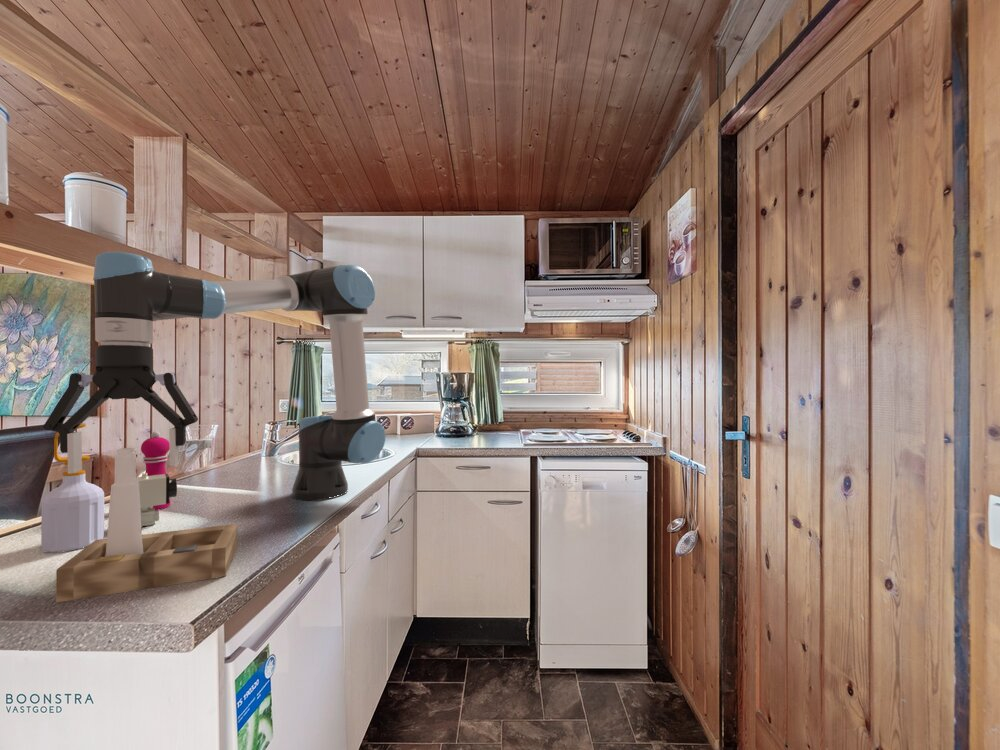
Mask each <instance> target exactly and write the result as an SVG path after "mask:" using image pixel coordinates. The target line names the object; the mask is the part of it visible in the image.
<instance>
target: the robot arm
mask: <svg viewBox="0 0 1000 750" xmlns="http://www.w3.org/2000/svg"><path fill="white" fill-rule="evenodd" d="M93 269H94V271H93V279H92V280H93V286H94V287H93V288H94V289H93V290H94V309H95V310H94V311H95V313H94V315H95V316H94V334H95V335H94V339H95V342H97V343H100V345H96V347H94V350H95V351H94V352H95V353H94V354H95V372H94V374H86V373H84V372H73V373H71V374H70V375H69V379H68V386H67V388H66V390H65V391H64V393H63V394H62V396H61V397H60V399H59V401H58V402H57V404H56V405H55V407H54V409H52V412H51V413H50V414H49V416H48V418H47V419H46V421H45V423H44V424H43V426H42V427H43V429H44V430H45V431H53V432H56V433H57V432H58V433H59V434H60V435H59V446H60V447H59V450H60V452H61V453H62V454H66V453H67V457H68V465H67V472H68V474H71V473H76V472H78V471H80V470H83V464H82V456H83V452H82V451H83V450H82V447H83V445H82V443H83V441H82V440H83V439H82V431H77V429H76V428H77V427H78V426H79V425H80V424H84V422H86V420H87V419H88V418H89V417H90V416H91V415H92V414H93V413H94V412H96V411H97V409H98V408H100V406H102V405H103V404H104V403H105V402H106V401H108V400H109V399H111V400H122V399H126V400H127V399H128V400H136V399H141V398H142V399H143V400H144V401H145V402H148V404H149V405H151V406H152V407H153V408H154V409H155V410H156V411H158V412H159V414H160V415H162V417H164V419H166V420H167V421H168V422H169V423H170V424H172V425H173V426H174V427H172V428H169V429H168V430H169V443H170V449H169V467H175V466H177V465H179V463H180V447H182V446H184V445H185V444H186V442H187V432H186V431H187V430H186V428H187V427H188V426H189V425H191V424H195V423H197V422H198V421H199V417H198V416H197V414H196V413H195V410H193V408H192V406H191V405H190V403H189V401H188V400H187V399H186V397H185V395H184V393H183V392H182V390H181V389H180V387H179V385H178V382H177V381H178V380H177V375H176V373H174V372H165V373H160V374H156V373H155V371H154V349H153V348H152V346H150V345H151V344H153V343H154V329H153V328H154V326H153V325H154V323H153V322H157V321H158V322H159V321H165V320H175V319H183V318H194V319H199V320H204V319H205V320H206V319H207V320H209V319H210V320H214V319H218V318H219V317H221V315H223V314H225V315H226V314H235V313H244V312H245V313H247V312H257V311H258V312H259V311H268V310H276V309H281V310H282V311H284V312H296V311H301V312H303V311H304V312H307V311H308V312H321V313H322V318H323V319H324V320H326V321H327V322H328V325H329V333H330V336H329V337H330V344H331V345H330V346H331V359H332V369H333V370H332V371H333V383H334V396H335V407H336V410H335V411H334V413H333V414H326V415H314V416H308V417H307V416H306V417H303V418H301V419H300V421H299V425H298V427H299V428H298V471H297V474H296V476H295V480H294V483H293V485H292V491H291V496H293V497H294V499H295V498H296V500H300V499H301V501H318V500H317V499H322V500H325V499H324V498H329V497H334V496H337V495H341V494H343V493H345V492H346V491H347V490H348V489H349V484H348V480H347V478H346V475H345V472H344V468H343V466H342V465H343V464H342V463H343V462H347V463H353V464H369V463H370V462H373V461H374V460H376V459H377V458H378V457H379V456H380V454H381V452H382V451H383V450H384V448H385V447H384V446H385V442H386V436H387V434H386V429H385V427H384V425H382V423H380V422H378V421H377V419H376V412H375V411H374V410H373V409H372V408H371V407H370V405H369V403H370V401H369V392H368V391H369V390H368V379H367V378H368V377H367V376H368V375H367V363H366V353H365V351H366V350H365V339H364V325H363V322H364V320H365V319H366V318H367V317H368V316H369V315H368V308H369V307H371V305H373V303H374V301H375V298H376V289H375V285H374V281H373V280H372V278H371V276H370V275H369V274H368V273H367V271H366V270H365V269H364V268H363V267H360V266H358V265H356V264H339V265H336V266H330V267H329V266H328V267H325V268H324V267H323V268H317V269H312V270H308V271H307V270H306V271H303V272H299V273H295V274H287V275H286V274H284V275H283V274H282V275H279V276H278V277H276V278H275V279H251V280H250V279H249V280H223V281H220V280H219V281H217V280H215V281H209V280H205V279H204V278H200V279H198V278H193V277H187V276H182V275H176V274H175V275H174V274H168V273H162V272H159V271H156V270H155V271H154V266H153V261H152V260H151V259H150V258H148V257H146V256H143V255H140V254H136V253H131V252H122V251H104V252H101V253H99V254H97V255H96V256H95V261H94V268H93ZM92 382H93V384H94V385H95V386H96V387H97V388H98V390H96V391H95V392H94V393H93V394H92V395H91V396H90V397H89V399H88V400H87V401H86V402H85V403H84V404H83V405H82V406H80V408H78V409H77V410H76V411H75V412H74V413H73V414H72V415H71V416H70V417H68V416H69V414H70V413H71V411H72V410H73V408H74V407H75V405H76V403H77V401H79V400H78V399H79V398H80V397H81V395H82V394H83V392H84V390H85V388H86V387H89V385H90V383H92ZM156 382H159V384H160V385H161V386H164V388H165V389H166V392H167V393H168V394H169V396H170V398H171V399H172V400H173V402H174V404H175V405H176V407H177V409H178V410H179V412H180V413H181V415H182V416H183V417H182V416H181V415H180V414H178V413H177V412H176V411H175V410H174V409H173V408H172V407H171V406H170V404H167V402H166V401H164V399H162V398H161V397H160V395H159V394H158V393H157V392H156V391H155V390H153V388H152V387H153V386H154V384H155V383H156ZM67 417H68V419H67ZM66 419H67V420H66ZM65 420H66V421H65ZM348 491H349V490H348ZM348 491H347V492H348ZM345 494H346V493H345ZM343 495H344V494H343ZM341 496H342V495H341ZM293 497H292V498H293ZM334 498H335V497H334ZM329 499H330V498H329Z"/></svg>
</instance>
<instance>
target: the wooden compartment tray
mask: <svg viewBox="0 0 1000 750" xmlns="http://www.w3.org/2000/svg"><path fill="white" fill-rule="evenodd" d="M238 536H239V534H238V523H233V524H232V523H231V524H222V525H215V526H205V527H197V528H188V529H180V530H171V531H163V532H153V533H152V532H151V533H147V534H146V533H145V534H142V544H143V552H144V553H140V554H133V555H125V554H122V555H114V556H107V557H105V554H106V545H107V538H103V539H99V540H95V541H94V542H92V543H91V544H90V545H88V546H87V547H85V548H82V549H81V550H80V551H79V552H78V553H76V554H75V555H74V556H72V557H71V558H70V559H69V560H67V561H66V562H65V563H63V564H62V565H61V566H59V567H58V568H56V572H55V573H56V574H55V575H56V587H55V590H56V593H55V594H56V595H55V598H56V599H55V601H56V603H61V602H68V601H74V600H82V599H87V598H95V597H100V596H106V595H114V594H120V593H127V592H134V591H140V590H146V589H153V588H159V587H164V586H166V587H167V586H172V585H177V584H184V583H185V584H186V583H191V582H196V581H197V582H198V581H203V580H204V581H205V580H211V579H210V578H212V579H217V578H216V577H218V578H223V577H222V576H224V577H226V575H227V574H228V572H227V571H229V569H230V567H229V566H231V565H230V564H232V563H233V561H234V558H233V557H235V556H236V553H237V551H238ZM236 550H237V551H236ZM226 573H227V574H226Z"/></svg>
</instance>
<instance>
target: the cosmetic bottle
mask: <svg viewBox="0 0 1000 750" xmlns="http://www.w3.org/2000/svg"><path fill="white" fill-rule="evenodd" d="M134 451H135V448H133V447H124V448H119V449H116V453H117V454H116V455H115V456H114V483H112V484H111V486H110V488H111V493H109V495H110V497H109V506H108V507H109V509H108V520H107V521H108V522H107V534H106V535H107V537H106V539H107V545H106V554H105V557H107V556H114V555H122V554H125V555H133V554H140V553H144V552H143V544H142V535H143V534H142V527H141V511H140V492H139V482H138V481H136V477H137V455H136V453H135V452H134Z"/></svg>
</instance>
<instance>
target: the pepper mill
mask: <svg viewBox="0 0 1000 750" xmlns="http://www.w3.org/2000/svg"><path fill="white" fill-rule="evenodd" d="M160 436H161V433H160V432H159V431H156V430H155V431H152V433H151V437H149V438H147V439H145V440H144V441H143V442H142V443H141V445H140V451H141V453H142V454H143V455H144V457H143V463H144V464H145V473H147V476H153V475H161V474H167V472H166V462H167V461H168V455H167V454H168V452H170V440H168V439H167V438H165V437H160ZM145 473H144V474H145ZM168 506H169V507H170V506H171V499H169V504H162V505H156V506H153V508H155V511H157V509H160V510H163V509H162V508H164V509H167V508H169V507H168ZM166 507H167V508H166ZM148 508H150V507H148ZM140 510H141V509H140Z"/></svg>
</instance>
